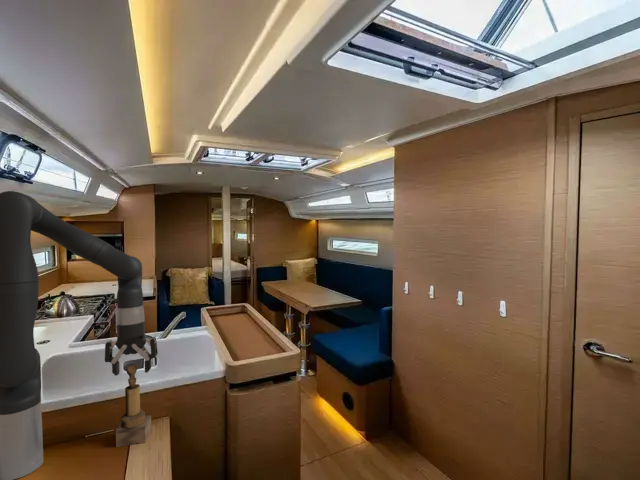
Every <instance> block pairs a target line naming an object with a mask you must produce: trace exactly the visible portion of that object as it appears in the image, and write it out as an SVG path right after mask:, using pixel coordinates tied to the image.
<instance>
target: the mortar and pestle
mask: <svg viewBox="0 0 640 480" xmlns="http://www.w3.org/2000/svg"><path fill="white" fill-rule="evenodd" d="M125 371H126V373H127V375H128V376H129V378H128V379H127V382H128V386H126V387H125V388H124V392H125V395H124V396H125V413H124V414H123V415H122V416H121V418H120V423H121V426H122V427H123V428H132V427H136V426H139V425H141V424H142V423H143V422H145V416H146V412H145V410H143V409H141V392H140V391H141V390H140V389H141V388H140V384H139V383H137V384H136V382H137V377H136V376H135V375H136V373H137V371H138V366H137V364H134V363H131V364H128V365H127V366H126V369H125Z"/></svg>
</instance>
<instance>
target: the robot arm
mask: <svg viewBox="0 0 640 480" xmlns="http://www.w3.org/2000/svg"><path fill="white" fill-rule="evenodd" d="M32 232H34V233H37V234H40V235H43V237H46V238H48V239H50V240H52V241H53V242H56V243H57V244H59V245H60V246H61V247H64V248H65V249H66V250H68V251H69V252H71V253H72V254H74V255H76V256H78V257H80V258H82V259H84V260H86V261H88V262H90V263H92V264H94V265H97V266H99V267H101V268H103V269H104V270H105V271H107V272H109V273H110V274H112V275H114V276H116V277H117V291H116V308H117V309H116V337H117V338H116V340H115V341H114V340H111V339H110V340H108V341H107V342H106V343H105V345H104V362H105V363H110V364H111V371H112V372H111V373H112V374H114V376H119V375H120V359H121V358H122V356H123V355H125V356H127V355H128V356H129V355H137V354H139V356H140V357H142V358H143V359H144V373H145V374H146V373H149V371H150V370H152V359H155V358H156V357H157V356H158V352H159V351H158V342H157V337H156V336H153V337H149V338H146V332H145V331H146V329H145V327H146V324H145V319H146V317H145V308H144V293H143V288H142V287H143V283H142V282H143V265H142V261H141V260H140V259H139V258H137V256H136V257H135V256H133V255H132V256H131V255H129V254H128V253H125V252H123V251H122V250H120V249H117V248H115V247H114V246H113V245H111V244H110V243H108V242H107V241H104V240H103V239H101V238H99V237H97V236H95V235H93V234H91V233H90V232H87V231H85V230H83V229H81V228H79V227H77V226H75V225H72V224H71V223H69V222H67V221H65V220H63V219H62V218H60V217H59V216H58V215H55V214H54V213H52V212H51V211H50V210H49V209H47V208H46V207H44V206H43V205H42V204H40V203H39V202H38V201H37V200H36V199H35V198H33V197H32V196H29V195H28V194H25V193H22V192H19V191H16V190H6V191H2V192H0V480H16V479H20V478H22V477H25V476H28V475H29V474H31V473H33V472H34V471H36V470H38V469H39V468H40V467H41V466H42V465H43V464H44V448H43V447H44V445H43V444H44V443H43V442H44V441H43V439H44V438H43V417H42V369H41V368H42V367H41V366H42V365H41V362H42V361H41V355H40V352H39V350H38V349H36V348H35V338H34V331H35V330H34V329H35V322H36V318H37V316H36V315H37V310H38V304H39V294H40V293H39V291H40V290H39V288H40V286H39V285H40V284H39V279H40V277H39V271H38V266H37V263H36V260H35V256H34V253H33V249H32V245H31V243H32V241H31V236H32V235H31V234H32ZM146 344H147V345H148V346H150V352H149V351H148V349H147V348H146V346H145V345H146ZM115 346H116V348H117V349H118V352H117V353H116V354H115V356H114V357H113V351H114V350H113V349H114V348H115Z"/></svg>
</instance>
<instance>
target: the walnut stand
mask: <svg viewBox="0 0 640 480" xmlns="http://www.w3.org/2000/svg"><path fill="white" fill-rule="evenodd" d="M151 433H152V415H145V422H143V423H142V424H141V425H139V426H136V427H132V428H123V427H122V426H121V422H120V423H119V425H118V427H117V428H115V447H116V448H118V447H119V448H120V447H126V446H132V444H133V445H137V444H136V443H140V444H144V443H145V442H147V441H148V439H149V437H150V434H151ZM146 440H147V441H146Z"/></svg>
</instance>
